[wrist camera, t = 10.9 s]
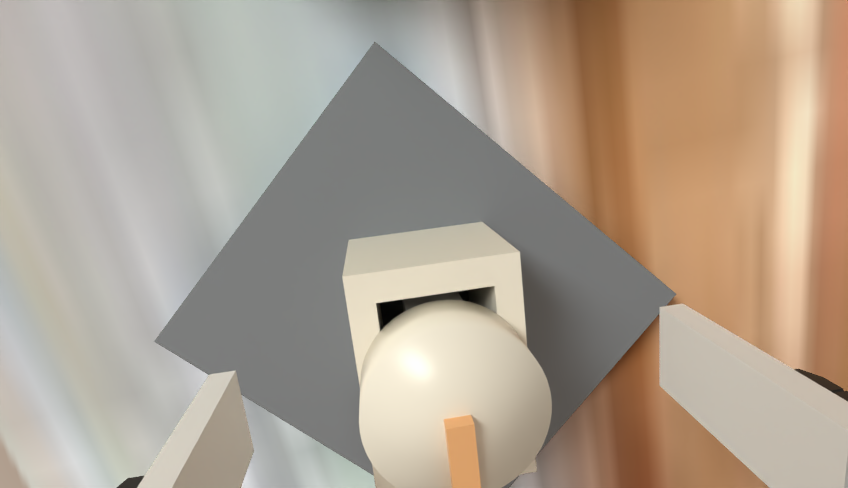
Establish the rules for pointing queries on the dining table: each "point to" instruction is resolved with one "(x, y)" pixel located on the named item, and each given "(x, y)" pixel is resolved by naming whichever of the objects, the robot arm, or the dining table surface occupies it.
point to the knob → (445, 360)
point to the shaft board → (388, 214)
